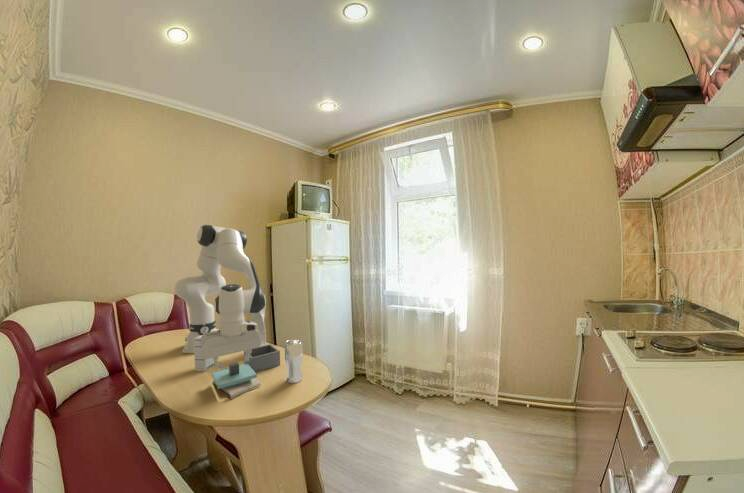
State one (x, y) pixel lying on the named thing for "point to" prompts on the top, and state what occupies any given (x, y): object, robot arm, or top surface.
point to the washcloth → (241, 388)
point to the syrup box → (200, 362)
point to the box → (263, 358)
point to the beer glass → (294, 360)
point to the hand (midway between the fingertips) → (233, 364)
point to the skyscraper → (260, 324)
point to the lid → (233, 375)
